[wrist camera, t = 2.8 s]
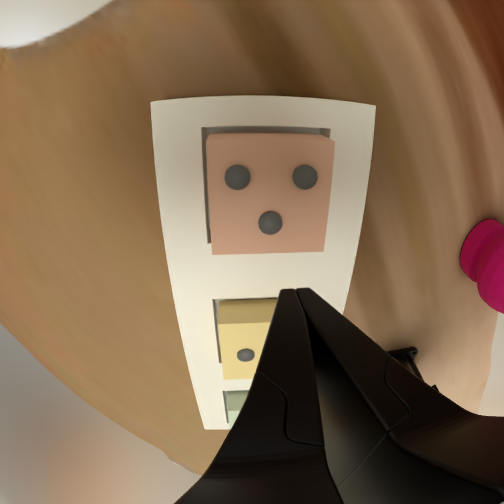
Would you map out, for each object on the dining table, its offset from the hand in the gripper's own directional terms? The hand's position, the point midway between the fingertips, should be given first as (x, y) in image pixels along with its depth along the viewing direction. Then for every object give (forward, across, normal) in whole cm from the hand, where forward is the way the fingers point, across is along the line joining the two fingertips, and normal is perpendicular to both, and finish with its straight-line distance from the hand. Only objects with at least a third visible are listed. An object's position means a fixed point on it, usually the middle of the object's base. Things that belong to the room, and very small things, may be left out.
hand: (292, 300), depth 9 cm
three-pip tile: (+9, 0, 0) cm, 10 cm away
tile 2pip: (+9, 0, +11) cm, 14 cm away
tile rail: (+12, 0, +11) cm, 16 cm away
